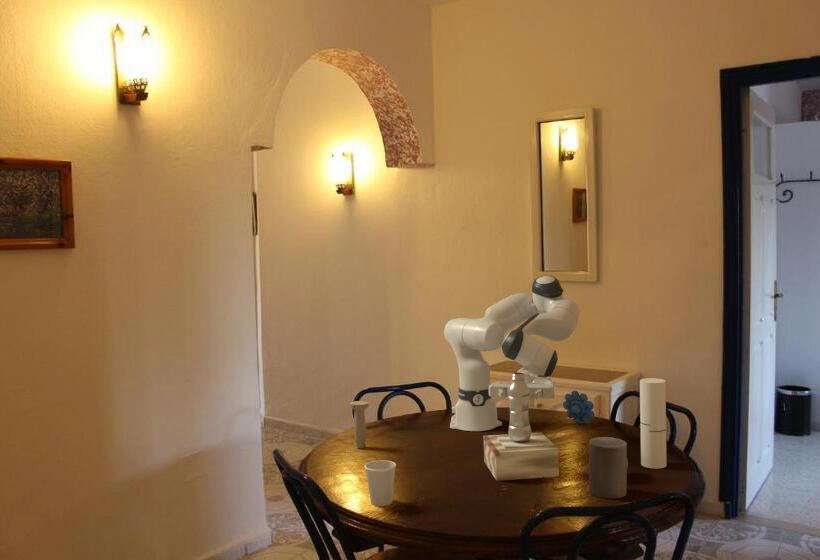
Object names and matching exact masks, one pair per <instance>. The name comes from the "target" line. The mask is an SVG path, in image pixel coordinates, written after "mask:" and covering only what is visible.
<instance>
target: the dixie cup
mask: <svg viewBox="0 0 820 560" xmlns="http://www.w3.org/2000/svg"><path fill="white" fill-rule="evenodd" d="M363 467H364V469H365V474H366V480H367V481H366V482H367V485H368V492H369V493H368V494H369V498H370V504H371V505H372V506H375V507H384V506H389V505H391V504H392V503H393V500H394V499H393V498H394V486H395V473H396V467H397V464H396V462H394V461H391V460H383V459H382V460H380V459H378V460H373V461H370V462H367V463H365V465H364V466H363Z"/></svg>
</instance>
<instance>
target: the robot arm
mask: <svg viewBox="0 0 820 560" xmlns="http://www.w3.org/2000/svg"><path fill="white" fill-rule="evenodd" d="M531 292H532V296H531V295H529V293H526V292H517V293H514V294H512V295H509V296H506V297H504V298H503V299H501V300H499V301H497V302H496V303H494V304H492V305H491V306H489V307H488V308H486V310H485V313H484V316H483V317H479V318H472V317H471V318H470V317H456V318H452V319H449V321H447V322H446V324H445V326H444V328H443V335H444V339H445V341H446V342H447V343H448V344H449V345H450V347H451V348H452V350H453V353H454V357H455V359H456V362H457V366H458V380H459V387H458V391H457V393H458V400H457V402H456V404H455V406H452V407H451V413H452V414H453V415H452V416H451V419H450V423H449V428H450V429H454V430H455V429H456V430H461V431H464V432H465V431H468V432H483V431H485V432H486V431H490V430H493V429H495V428H497V427H500V426H503V422H502V421H501V420H498V411H497V409H498V408H497V403H496V401H495V400H493V398H502V399H505V398H508V395H507V390H508V387H509V386H510V384H511V383H512V381H513V380H512V379H511V381H493V382H491V370H490V369H491V367H490V364H489V363H488V362H487V361H486V360H485V358H484V357H483V354H482V352H492V351H496V350H499V349H500V348H501V349H502V353H503V354H504V357H505V358H506V359H507V358H508V359H509V360H512V361H514V362H516V363H518V364H519V365H521V366H523V367H521V368H520V369H518V370H517V372H521V373H525V380H524V382H525V383H526V385H527V386H528V388H529V390H530V396H529V401H531V400H535V399H536V400H537V399H554V398H555V384H554V382H553V380H552V374H553V372H554V370H555V368H556V366H557V363H558V361H559V359H558V353H557V350H556V349H555V348H553V347H551V346H550V345H547V344H546V343H544V342H542V341H540V340H539V339H536V338H534V337H533V336H539V337H542V338H544V339H547V340H549V341H552V342H562V341H565V340H567V339H569V337H570V336H571V335H573V333H574V332H575V329H576V327H577V325H578V323H579V320H580V319H579V318H580V307H579V306H578V304H577V303H576V302H575V301H574V300H571V299H569V298H564V295H563V293H564V289H563V287H562V285H561V283H560V280H559V279H558V278H557V277H555V276H553V275H541V276H538V277H537V278H535V279H534V280H533V282H532V284H531ZM517 326H518V327H517ZM516 327H517V328H516ZM514 328H515V329H514ZM512 329H513V330H512ZM510 330H511V331H510ZM509 331H510V332H509ZM508 332H509V333H508ZM506 333H508V334H507V335H505V334H506ZM531 335H532V336H531Z"/></svg>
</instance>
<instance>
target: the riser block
mask: <svg viewBox="0 0 820 560" xmlns="http://www.w3.org/2000/svg"><path fill="white" fill-rule="evenodd" d="M482 438H483V439H482V440H483V462H484V464H485V466H486V467H487V468H488V469H489V472H490V473H491V474H492V476H493V477H494V479H495V481H511V480H525V479H542V478H543V477H544V478H556V477H557V478H558V476H559V477H560V469H559V468H560V467H559V464H560V463H559V459H560V458H559V448H558V447H557V446H556V445H555V444H554V443H553V442H552V441H551V440H550V439H549V438H548V437H547V436H546V435H544V433H543V432H542V431H541V432H531V437H530V439H529V440H527V441H521V442H519V441H513V440H511V439H510V437H509V433H508V434H507V433H506V434H493V435H491V434H490V435H482Z"/></svg>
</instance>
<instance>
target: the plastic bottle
mask: <svg viewBox="0 0 820 560" xmlns="http://www.w3.org/2000/svg"><path fill="white" fill-rule="evenodd" d="M511 380H513V381H512V383H511V384H510V386H509V387H508V390H507V395H508V397H507V400H508V404H509V405H508V406H509V425H508V434H509V437H510V439H511V440H513V441H519V442H521V441H527V440H529V439H530V437H531V433H532V428H531V427H532V426H531V424H530V415H529V407H530V406H529V405H530V404H529V403H530V400H529V396H530V390H529V388H528V386H527V385H526V383H525V382H524V380H525V373H521V372H518V371H517V372H513V373H511Z"/></svg>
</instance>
